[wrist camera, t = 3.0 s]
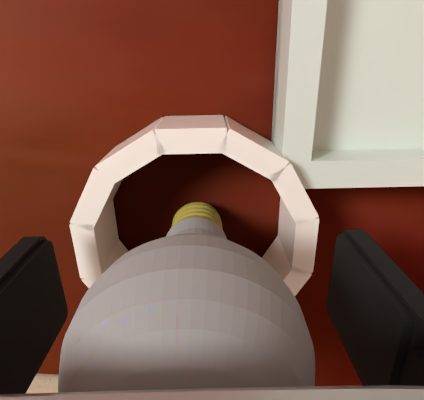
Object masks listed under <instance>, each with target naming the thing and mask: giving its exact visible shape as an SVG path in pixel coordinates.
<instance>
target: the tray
mask: <svg viewBox="0 0 424 400" xmlns="http://www.w3.org/2000/svg"><path fill="white" fill-rule="evenodd" d="M271 142H272V143H273V144H274V146H275V147H276V148H277V149H278V151H279V152H280V153H281V154H282V155H283V156H285V157H286V159H288V161H289V162H290V163H291V164H292V166H293V168H294V170H295V172H296V174H297V176H298V178H299V180H300V181H301V183H302V185H303V187H304V189H320V188H366V187H412V186H424V0H279V7H278V26H277V45H276V64H275V83H274V102H273V121H272V140H271Z"/></svg>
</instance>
